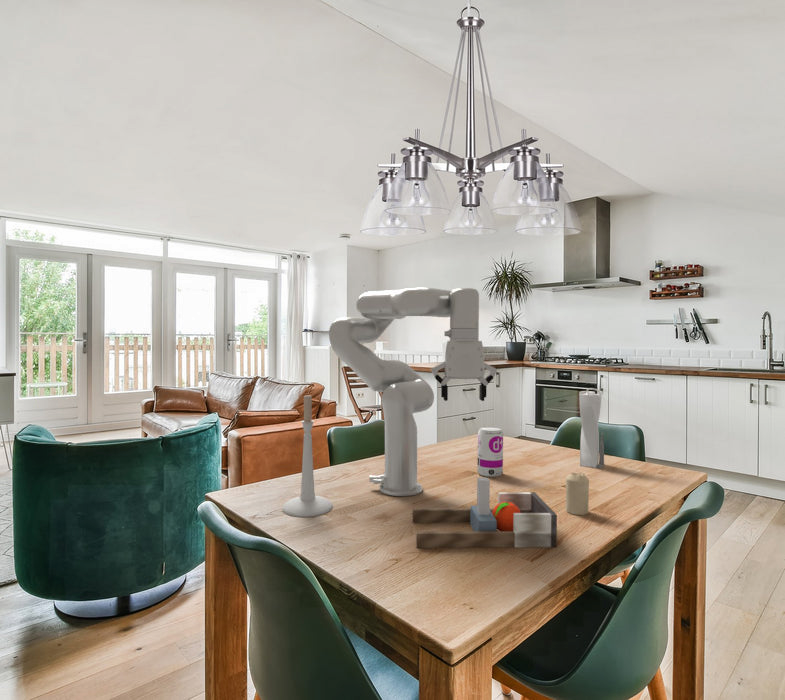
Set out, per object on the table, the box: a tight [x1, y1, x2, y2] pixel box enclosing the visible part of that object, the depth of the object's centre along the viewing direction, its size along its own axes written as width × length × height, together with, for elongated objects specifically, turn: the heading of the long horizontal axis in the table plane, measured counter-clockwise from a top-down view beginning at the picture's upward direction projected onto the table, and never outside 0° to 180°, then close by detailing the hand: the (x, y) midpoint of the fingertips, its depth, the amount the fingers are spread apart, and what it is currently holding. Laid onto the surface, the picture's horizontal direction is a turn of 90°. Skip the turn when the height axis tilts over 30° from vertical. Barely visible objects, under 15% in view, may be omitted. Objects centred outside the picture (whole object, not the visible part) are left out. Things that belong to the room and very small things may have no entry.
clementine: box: [492, 502, 521, 531], centre depth 113 cm, size 8×7×7 cm
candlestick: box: [282, 394, 333, 518], centre depth 129 cm, size 13×13×30 cm
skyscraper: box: [578, 387, 605, 470], centre depth 173 cm, size 8×8×28 cm
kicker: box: [469, 477, 498, 531], centre depth 113 cm, size 4×10×12 cm, turn 1°
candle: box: [565, 472, 590, 516], centre depth 127 cm, size 6×6×10 cm
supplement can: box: [477, 426, 504, 478], centre depth 162 cm, size 8×8×15 cm
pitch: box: [411, 491, 558, 549], centre depth 113 cm, size 30×15×7 cm, turn 91°
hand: (463, 400), depth 130 cm, fingers open, 9 cm apart
